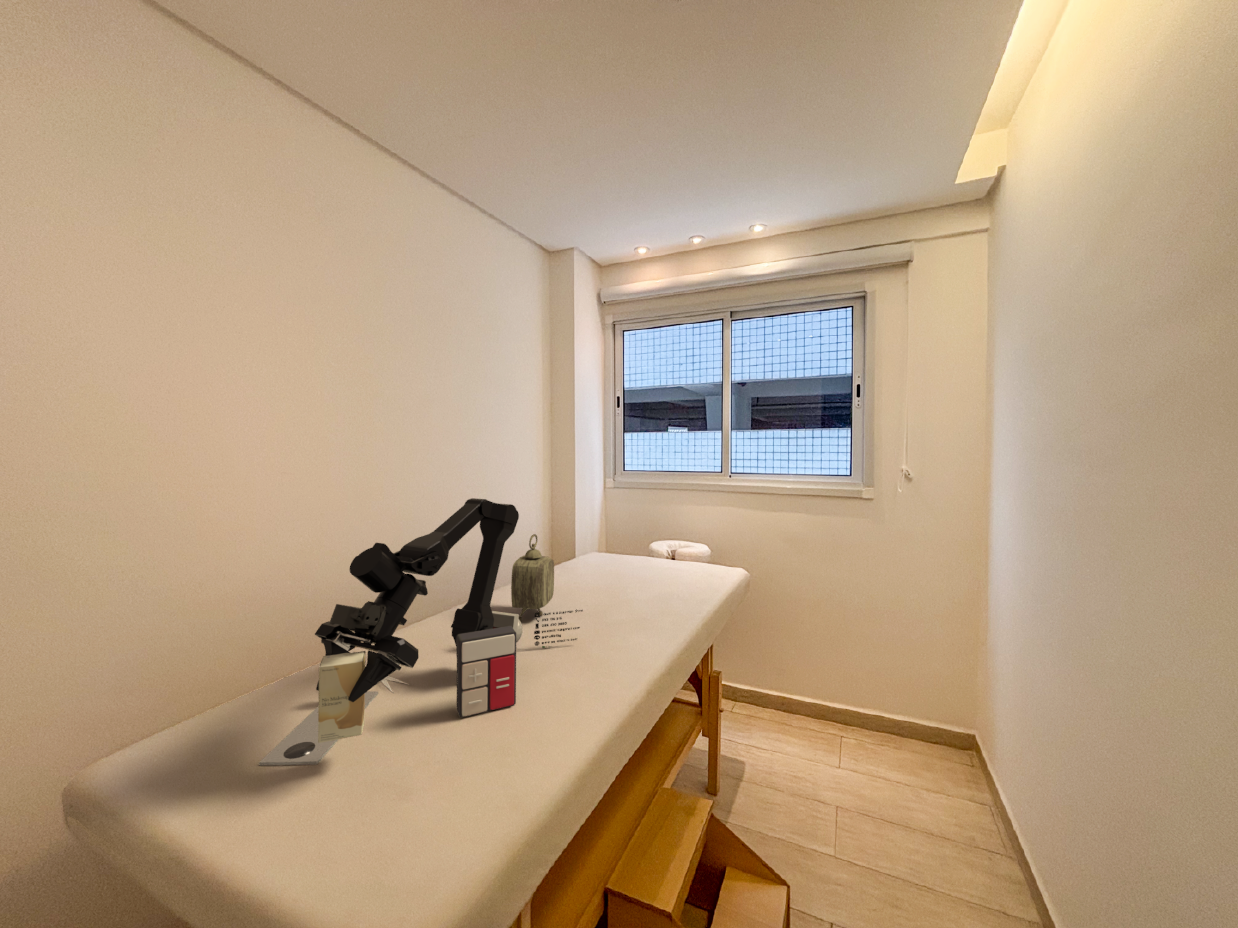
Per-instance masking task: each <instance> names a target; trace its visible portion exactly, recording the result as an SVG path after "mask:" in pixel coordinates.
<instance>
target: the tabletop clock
mask: <svg viewBox="0 0 1238 928" xmlns="http://www.w3.org/2000/svg"><path fill="white" fill-rule="evenodd" d="M534 537H535V543H532V540H533V538H534ZM528 542H529V543H528V546H529V549H528V550H527V551H526V552H525V554H524V555H522V556H520V557H518V558H517V559H516V560H515V561H514V562H513V565H512V568H511V581H510V582H511V584H510V586H511V587H510V589H511V591H510V592H511V593H510V597H511V606H512V608H514V609H521V612H520V614H519V620H520V622H521V621H522V618H523V617H522V616H523V615H524V613H525V612H526V611H527V610H530V609H531V610H537V612H538V613H540V614H539V616H541V617H543V615H542V614H544V612H543V611H541V609H542V608H544V607H546V606H547V605H548V604H549V603H550V602H551V600H552V598H553V597H554V591H555V590H554V589H555V560H554V559H552V558H551V557H549V556H543V555H542V553H541V551H540V550H539V549H537V548H536V547H537V545H538V535H537V534H536V533H533V534H532V535H531V536H530V538H529V541H528ZM539 616H538V617H539Z"/></svg>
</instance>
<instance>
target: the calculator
mask: <svg viewBox="0 0 1238 928" xmlns="http://www.w3.org/2000/svg"><path fill="white" fill-rule="evenodd" d="M455 649H456V712H457V716H458V717H459V718H466V717H470V716H473V715H474V716H475V715H478V714H479V715H480V714H484V713H488V712H492V711H496V710H500V709H503V708H504V709H505V708H507V707H511V706H512V707H513V706H515V705H516V703H517V702H516V701H517V698H516V697H517V643H516V632H515V630H514V629H513V628H512V626H506V627H500V628H494V629H487V630H481V631H475V632H469V633H462V634H458V635H457V636H456V644H455Z"/></svg>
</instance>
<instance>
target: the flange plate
mask: <svg viewBox="0 0 1238 928" xmlns="http://www.w3.org/2000/svg"><path fill="white" fill-rule="evenodd" d="M378 695H379V691H376V690H375V691H373V690H372V691H370V690H368V691H367V692H366V693H365V709H367V708H368V706H369V705H370V704H371V703H372V701H374V699H375V698H376V697H377V696H378ZM318 709H319V705H318V706H317V707H316V708H315V709H313V711H312V712H311V713H310V714H308V715H307V716H306V717H305V718H304V719H303V720H302V721H301V722H300V723H299V724H298V725H296V726H295V728H294V729H292V731H290V733H288V734H287V735H286V737H284V738H283V739H282V740H281V741H280V742H279V743H278V744H277V745H276V746H275V747H273V748H272V749H271V751H269V753H267V754H266V755H265V756H264V757H263V758H262V759H261V760H260V761H259V762H258V766H296V765H298V766H301V765H302V766H303V765H305V766H306V765H311V766H312V765H318V764H319V763H320V762H321V761H322V760H323V758H325V756H326V754H328V752H329V751H330V750H331V749H332V748H333V746H334V745H335V744H336V743H337V742H338V741H339V740H340V739H338V740H332V741H327V742H322V743H318Z"/></svg>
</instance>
